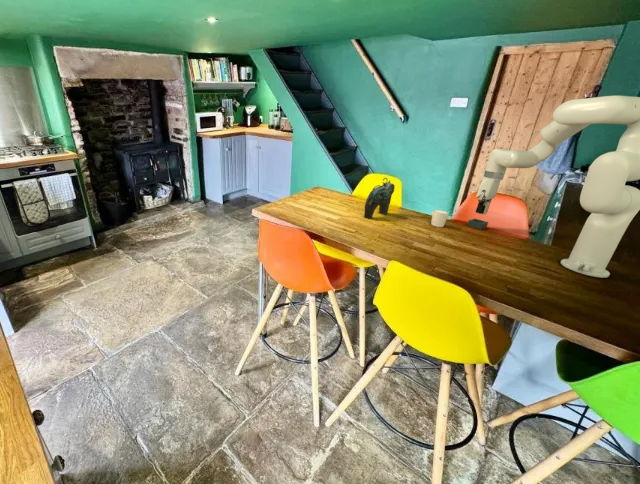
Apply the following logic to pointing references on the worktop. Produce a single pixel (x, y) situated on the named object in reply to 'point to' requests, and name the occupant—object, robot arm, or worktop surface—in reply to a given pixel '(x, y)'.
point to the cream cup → (439, 218)
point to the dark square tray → (477, 224)
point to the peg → (485, 208)
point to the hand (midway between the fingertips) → (481, 212)
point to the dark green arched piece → (379, 199)
